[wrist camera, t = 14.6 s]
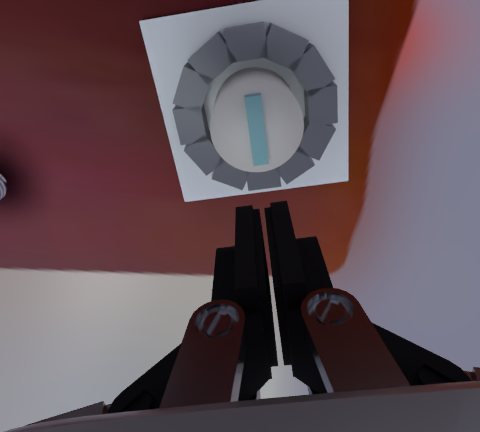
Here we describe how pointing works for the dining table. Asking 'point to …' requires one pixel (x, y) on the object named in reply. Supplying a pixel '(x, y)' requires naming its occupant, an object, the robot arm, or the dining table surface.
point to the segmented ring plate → (243, 56)
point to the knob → (256, 120)
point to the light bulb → (3, 186)
